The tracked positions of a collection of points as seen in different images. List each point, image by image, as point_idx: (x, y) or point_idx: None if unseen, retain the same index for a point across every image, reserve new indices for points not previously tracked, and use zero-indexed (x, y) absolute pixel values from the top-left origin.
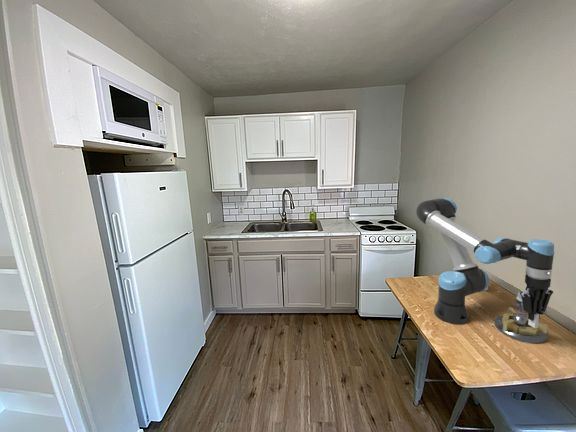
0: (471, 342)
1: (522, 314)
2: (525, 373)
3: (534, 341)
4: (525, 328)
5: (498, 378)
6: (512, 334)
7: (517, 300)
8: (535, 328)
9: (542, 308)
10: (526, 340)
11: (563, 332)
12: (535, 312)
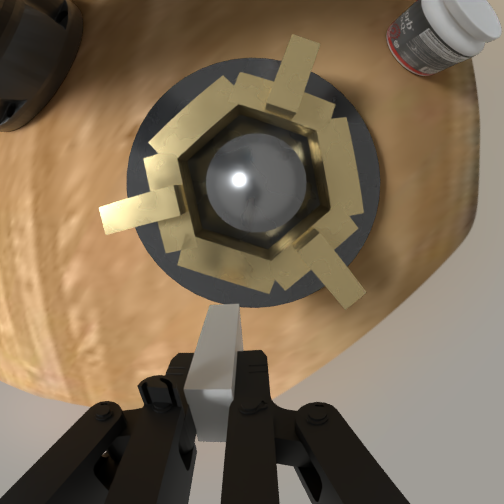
0: (2, 252)
1: (291, 165)
2: (90, 399)
3: (231, 303)
4: (218, 266)
5: (29, 387)
6: (153, 245)
7: (419, 6)
8: (287, 273)
9: (301, 476)
10: (196, 291)
11: (441, 236)
12: (188, 459)
